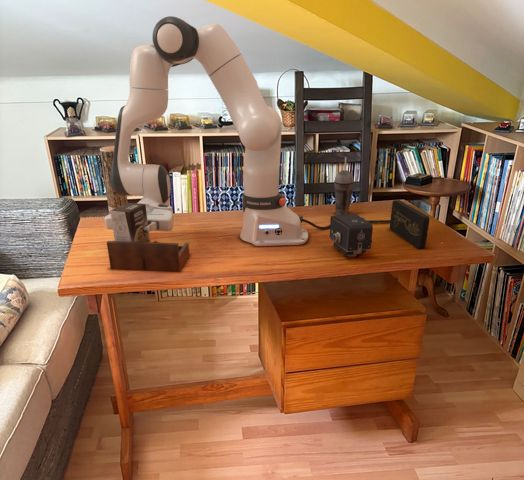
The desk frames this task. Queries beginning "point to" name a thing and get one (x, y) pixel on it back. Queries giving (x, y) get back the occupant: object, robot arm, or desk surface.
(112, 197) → the wooden log
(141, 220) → the coffee box
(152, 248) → the dark brown wooden box
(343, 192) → the beverage cup
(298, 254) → the desk surface
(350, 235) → the camera
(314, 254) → the desk surface
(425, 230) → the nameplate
